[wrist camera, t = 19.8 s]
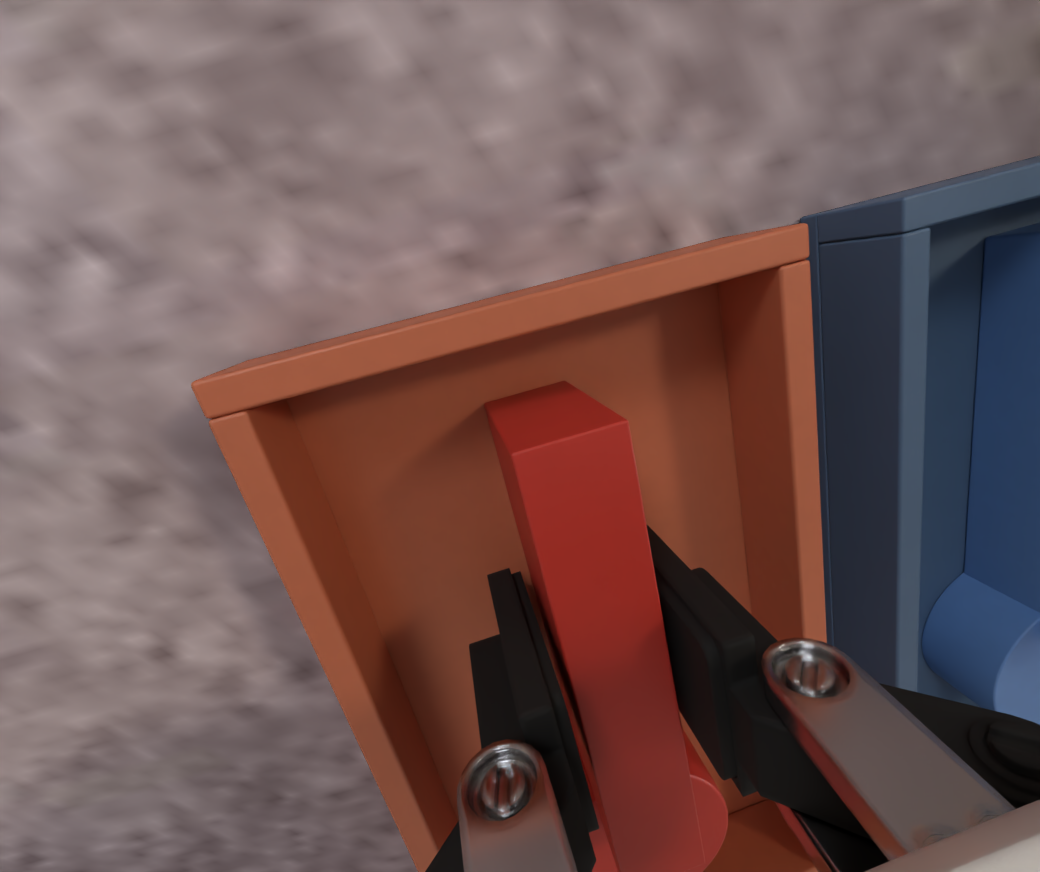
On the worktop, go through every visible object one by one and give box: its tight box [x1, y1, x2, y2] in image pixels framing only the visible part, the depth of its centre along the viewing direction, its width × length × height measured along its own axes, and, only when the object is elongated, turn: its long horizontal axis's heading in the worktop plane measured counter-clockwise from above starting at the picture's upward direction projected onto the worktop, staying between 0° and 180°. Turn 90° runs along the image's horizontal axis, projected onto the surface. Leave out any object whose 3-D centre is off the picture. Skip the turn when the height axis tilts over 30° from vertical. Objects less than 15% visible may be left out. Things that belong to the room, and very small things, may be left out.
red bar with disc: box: [484, 381, 728, 872], centre depth 11 cm, size 13×4×3 cm, turn 13°
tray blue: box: [800, 156, 1040, 707], centre depth 13 cm, size 17×10×2 cm, turn 13°
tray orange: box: [191, 223, 827, 872], centre depth 12 cm, size 17×10×2 cm, turn 13°
